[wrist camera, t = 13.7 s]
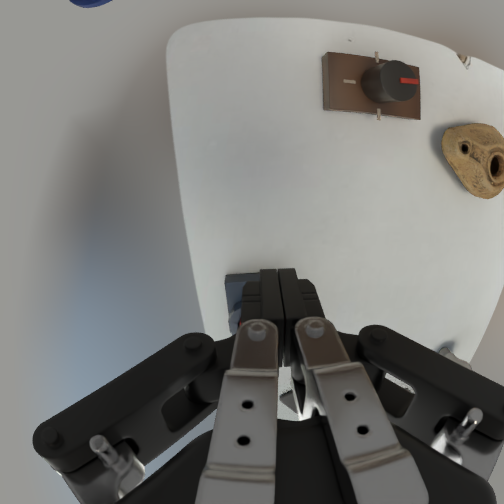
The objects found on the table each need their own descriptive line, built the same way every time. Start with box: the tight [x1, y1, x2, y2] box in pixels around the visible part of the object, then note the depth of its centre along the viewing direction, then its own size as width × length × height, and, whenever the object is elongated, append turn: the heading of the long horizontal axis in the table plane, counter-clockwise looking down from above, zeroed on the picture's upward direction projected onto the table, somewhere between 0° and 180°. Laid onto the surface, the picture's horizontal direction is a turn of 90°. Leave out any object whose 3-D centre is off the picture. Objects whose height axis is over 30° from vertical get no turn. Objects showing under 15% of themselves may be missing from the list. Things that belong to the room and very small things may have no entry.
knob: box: [361, 60, 419, 103], centre depth 25 cm, size 4×4×6 cm
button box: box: [225, 273, 260, 336], centre depth 42 cm, size 12×7×4 cm, turn 4°
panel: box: [322, 52, 420, 120], centre depth 29 cm, size 12×9×3 cm
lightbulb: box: [439, 348, 472, 370], centre depth 44 cm, size 6×6×11 cm
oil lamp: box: [441, 123, 504, 199], centre depth 30 cm, size 11×15×8 cm
